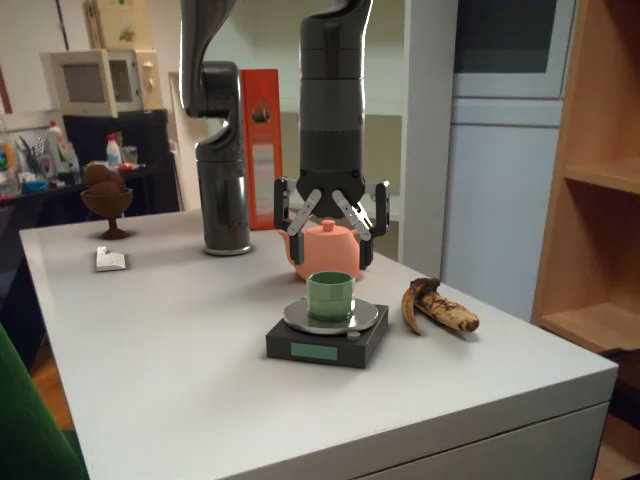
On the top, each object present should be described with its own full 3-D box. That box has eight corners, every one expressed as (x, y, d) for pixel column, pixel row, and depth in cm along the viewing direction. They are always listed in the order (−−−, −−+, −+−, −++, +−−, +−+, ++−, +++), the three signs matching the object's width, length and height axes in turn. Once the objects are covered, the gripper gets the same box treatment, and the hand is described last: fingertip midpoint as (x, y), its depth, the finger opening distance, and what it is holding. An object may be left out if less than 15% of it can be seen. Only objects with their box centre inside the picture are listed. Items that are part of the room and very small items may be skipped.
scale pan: (300, 297, 86) (300, 292, 85) (386, 305, 83) (386, 300, 82) (269, 329, 76) (269, 323, 75) (366, 339, 72) (366, 333, 72)
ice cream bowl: (126, 242, 128) (113, 167, 120) (79, 240, 130) (63, 166, 122) (148, 231, 137) (137, 160, 129) (104, 229, 139) (90, 160, 131)
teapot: (384, 278, 105) (387, 222, 100) (290, 293, 98) (288, 234, 93) (352, 261, 114) (353, 210, 109) (265, 273, 108) (262, 219, 103)
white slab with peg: (123, 249, 123) (122, 244, 122) (125, 269, 111) (124, 263, 110) (97, 251, 122) (97, 245, 121) (96, 271, 109) (95, 265, 109)
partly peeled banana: (376, 307, 93) (431, 348, 78) (376, 278, 91) (433, 314, 76) (429, 298, 95) (492, 336, 81) (430, 269, 93) (496, 303, 78)
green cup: (315, 301, 82) (314, 269, 80) (358, 305, 81) (359, 272, 78) (301, 316, 77) (300, 282, 75) (347, 321, 76) (347, 286, 73)
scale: (302, 316, 89) (301, 293, 87) (387, 325, 85) (389, 301, 84) (265, 357, 76) (264, 331, 74) (364, 369, 73) (365, 342, 71)
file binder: (251, 230, 137) (241, 68, 120) (237, 215, 151) (226, 69, 134) (285, 228, 139) (279, 68, 122) (268, 213, 153) (261, 69, 137)
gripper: (399, 123, 69) (391, 262, 77) (283, 121, 72) (287, 254, 81) (387, 129, 63) (379, 279, 71) (261, 126, 66) (268, 270, 75)
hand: (330, 266), depth 76 cm, fingers open, 8 cm apart
